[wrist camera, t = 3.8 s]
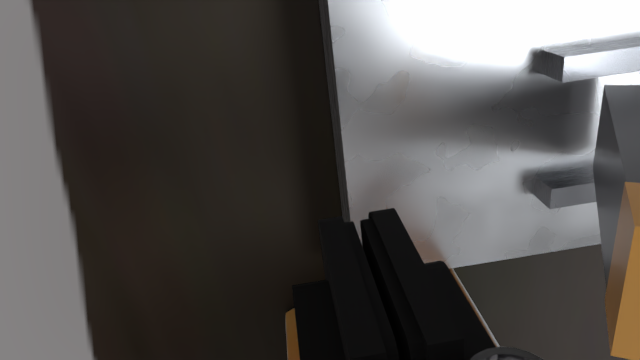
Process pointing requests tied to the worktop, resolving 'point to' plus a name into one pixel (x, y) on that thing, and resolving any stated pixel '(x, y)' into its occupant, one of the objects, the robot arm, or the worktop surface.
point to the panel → (475, 117)
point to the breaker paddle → (620, 214)
